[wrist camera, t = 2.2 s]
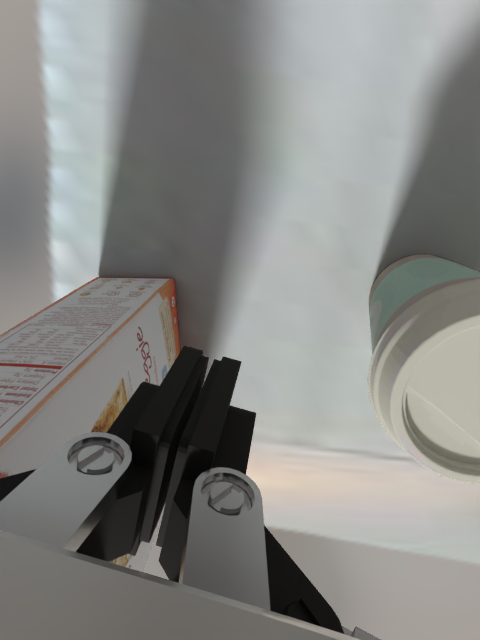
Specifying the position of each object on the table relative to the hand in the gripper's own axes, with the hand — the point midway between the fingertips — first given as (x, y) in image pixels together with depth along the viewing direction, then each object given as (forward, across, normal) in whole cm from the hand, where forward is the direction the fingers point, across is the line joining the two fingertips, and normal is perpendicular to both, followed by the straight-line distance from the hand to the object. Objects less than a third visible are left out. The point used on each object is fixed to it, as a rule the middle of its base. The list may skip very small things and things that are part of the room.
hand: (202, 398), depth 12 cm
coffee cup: (+17, -10, 0) cm, 19 cm away
